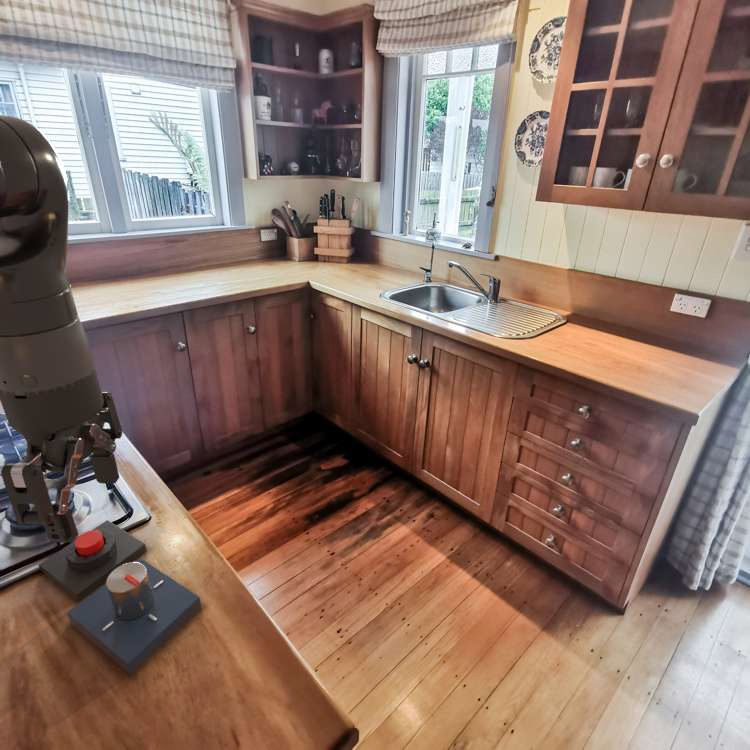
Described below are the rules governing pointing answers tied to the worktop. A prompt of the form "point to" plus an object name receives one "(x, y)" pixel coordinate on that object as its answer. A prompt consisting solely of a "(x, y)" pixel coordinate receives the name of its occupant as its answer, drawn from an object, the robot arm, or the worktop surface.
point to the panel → (136, 620)
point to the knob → (130, 590)
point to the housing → (92, 561)
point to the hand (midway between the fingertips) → (88, 508)
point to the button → (89, 543)
